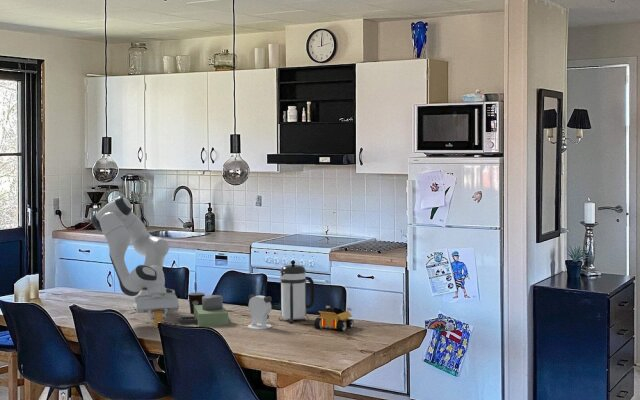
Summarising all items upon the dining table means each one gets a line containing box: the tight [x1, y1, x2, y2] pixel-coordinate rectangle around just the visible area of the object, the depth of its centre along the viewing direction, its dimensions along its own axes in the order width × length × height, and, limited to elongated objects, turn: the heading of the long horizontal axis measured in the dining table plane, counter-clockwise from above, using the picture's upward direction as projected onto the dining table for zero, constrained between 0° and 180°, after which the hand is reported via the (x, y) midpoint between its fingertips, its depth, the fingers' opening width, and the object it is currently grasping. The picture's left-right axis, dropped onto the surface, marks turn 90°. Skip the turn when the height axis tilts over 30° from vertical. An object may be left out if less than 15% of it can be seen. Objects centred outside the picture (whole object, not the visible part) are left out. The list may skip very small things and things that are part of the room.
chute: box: [153, 310, 164, 329], centre depth 402 cm, size 4×4×8 cm
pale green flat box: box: [179, 294, 229, 327], centre depth 415 cm, size 24×22×12 cm
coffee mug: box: [187, 291, 206, 315], centre depth 437 cm, size 12×9×10 cm
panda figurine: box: [247, 293, 273, 330], centre depth 401 cm, size 12×11×15 cm
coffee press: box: [278, 259, 315, 324], centre depth 416 cm, size 17×16×30 cm
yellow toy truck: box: [313, 305, 355, 332], centre depth 396 cm, size 15×15×11 cm
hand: (158, 318), depth 401 cm, fingers closed on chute, 4 cm apart
